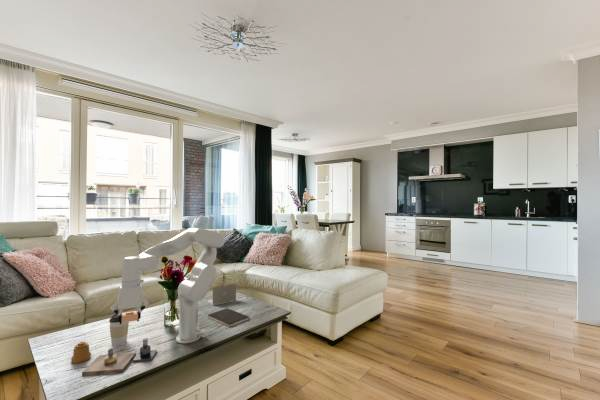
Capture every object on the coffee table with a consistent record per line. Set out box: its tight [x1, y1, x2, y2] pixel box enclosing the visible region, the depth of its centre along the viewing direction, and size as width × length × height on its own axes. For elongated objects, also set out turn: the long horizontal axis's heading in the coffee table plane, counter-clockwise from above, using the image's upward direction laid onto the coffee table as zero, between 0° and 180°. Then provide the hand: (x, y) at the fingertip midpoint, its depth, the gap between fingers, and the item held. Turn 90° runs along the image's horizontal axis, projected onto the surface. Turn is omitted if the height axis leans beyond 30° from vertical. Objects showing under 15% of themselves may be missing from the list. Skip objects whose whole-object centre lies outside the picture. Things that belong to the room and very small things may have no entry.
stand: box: [132, 337, 158, 363], centre depth 138 cm, size 8×8×8 cm
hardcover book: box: [207, 307, 250, 328], centre depth 184 cm, size 16×23×2 cm
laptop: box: [206, 283, 237, 306], centre depth 218 cm, size 18×12×13 cm
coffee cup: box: [109, 312, 130, 347], centre depth 152 cm, size 9×9×15 cm
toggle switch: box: [81, 347, 137, 377], centre depth 131 cm, size 16×14×8 cm
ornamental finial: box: [70, 341, 92, 364], centre depth 136 cm, size 8×8×8 cm
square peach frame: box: [122, 310, 138, 323], centre depth 134 cm, size 6×6×2 cm
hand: (129, 321), depth 134 cm, fingers closed on square peach frame, 6 cm apart
